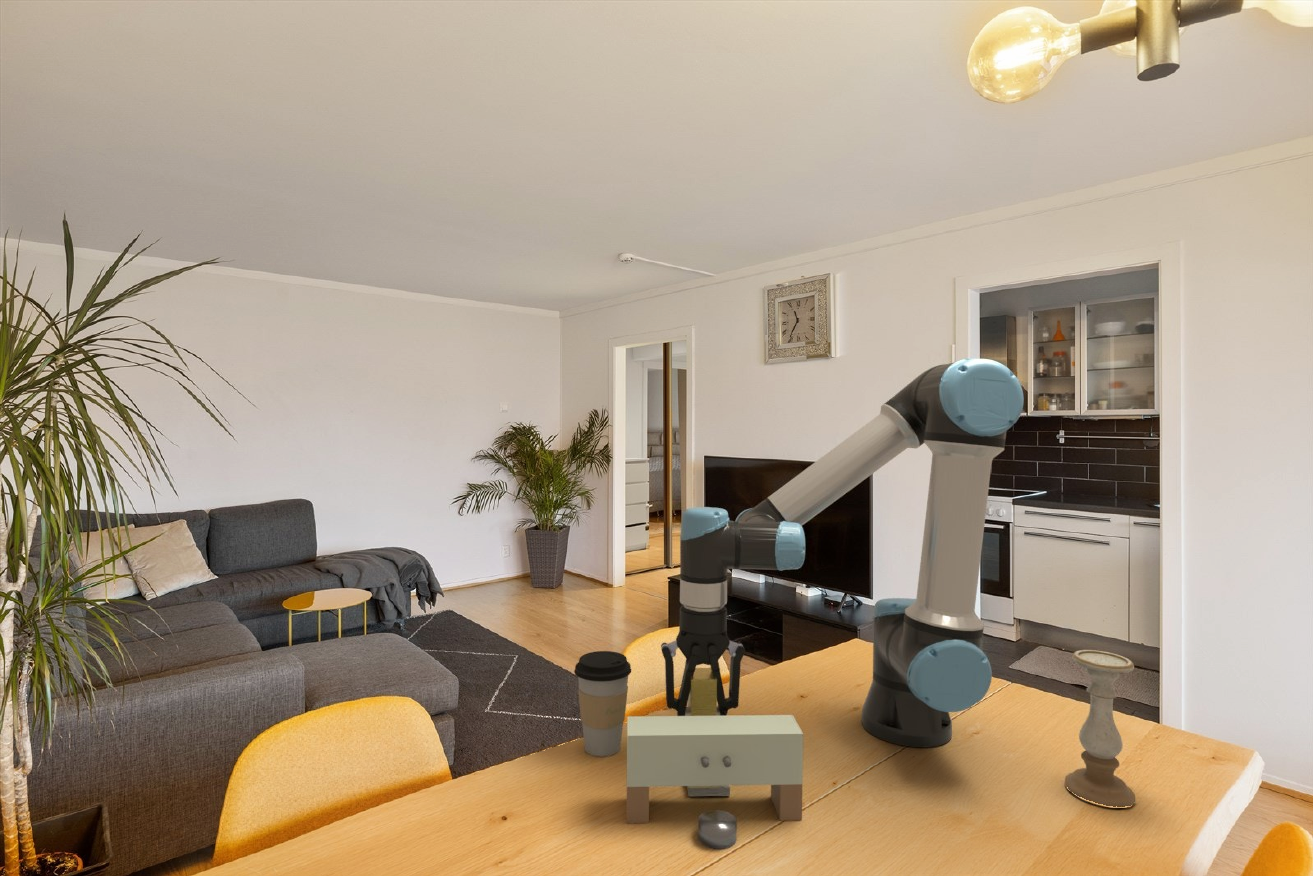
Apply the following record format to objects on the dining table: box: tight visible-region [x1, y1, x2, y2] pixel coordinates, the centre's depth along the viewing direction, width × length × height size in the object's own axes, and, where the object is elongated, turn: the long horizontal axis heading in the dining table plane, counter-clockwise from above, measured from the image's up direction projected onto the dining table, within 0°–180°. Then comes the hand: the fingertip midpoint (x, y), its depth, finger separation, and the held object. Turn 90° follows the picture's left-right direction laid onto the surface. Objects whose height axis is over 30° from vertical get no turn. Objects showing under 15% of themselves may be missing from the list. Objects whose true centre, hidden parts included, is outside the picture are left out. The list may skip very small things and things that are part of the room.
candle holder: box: [1064, 649, 1136, 807], centre depth 101 cm, size 9×9×20 cm
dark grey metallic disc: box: [697, 809, 738, 851], centre depth 90 cm, size 5×5×2 cm
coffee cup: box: [573, 650, 632, 758], centre depth 114 cm, size 9×9×15 cm
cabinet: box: [626, 714, 804, 824], centre depth 96 cm, size 24×7×12 cm, turn 93°
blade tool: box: [686, 667, 731, 797], centre depth 106 cm, size 6×13×14 cm, turn 3°
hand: (701, 749), depth 110 cm, fingers closed on blade tool, 4 cm apart
